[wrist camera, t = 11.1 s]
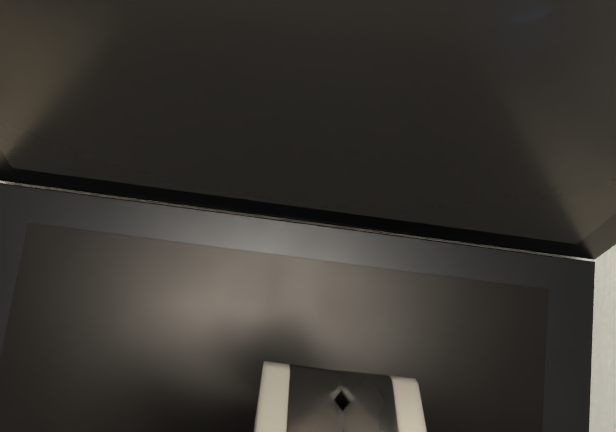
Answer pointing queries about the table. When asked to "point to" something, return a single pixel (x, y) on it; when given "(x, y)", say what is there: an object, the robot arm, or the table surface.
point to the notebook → (272, 319)
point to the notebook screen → (326, 111)
